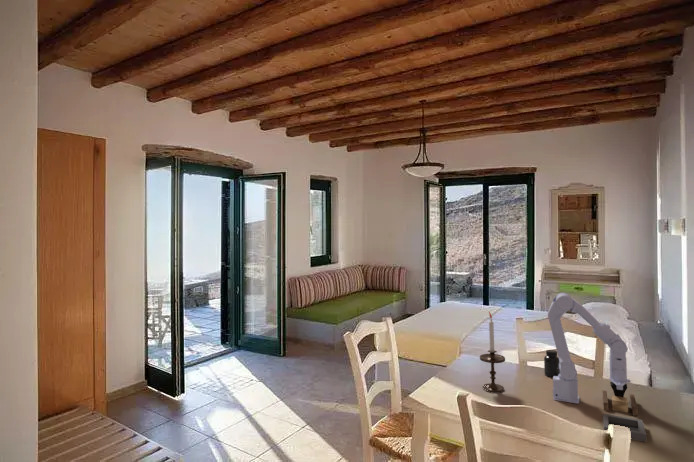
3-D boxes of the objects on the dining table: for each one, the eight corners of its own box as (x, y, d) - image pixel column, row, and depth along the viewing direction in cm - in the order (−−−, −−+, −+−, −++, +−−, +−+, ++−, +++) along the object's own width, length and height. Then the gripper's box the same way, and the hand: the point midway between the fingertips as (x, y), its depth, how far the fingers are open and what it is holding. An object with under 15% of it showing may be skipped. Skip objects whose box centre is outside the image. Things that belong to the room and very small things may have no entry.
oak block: (612, 410, 163) (612, 399, 163) (612, 405, 167) (612, 395, 168) (628, 412, 161) (627, 402, 161) (627, 407, 165) (626, 397, 165)
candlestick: (479, 392, 185) (477, 313, 185) (481, 383, 195) (479, 309, 195) (505, 394, 181) (503, 314, 181) (506, 386, 191) (504, 310, 191)
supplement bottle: (561, 378, 199) (561, 353, 199) (546, 377, 200) (545, 352, 200) (557, 373, 206) (557, 349, 206) (542, 372, 207) (542, 348, 207)
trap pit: (604, 434, 145) (604, 426, 145) (603, 420, 155) (602, 413, 155) (646, 442, 139) (646, 434, 139) (642, 426, 149) (642, 420, 149)
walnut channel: (603, 410, 163) (603, 402, 163) (602, 397, 175) (602, 390, 175) (637, 415, 158) (637, 407, 158) (634, 402, 170) (634, 394, 170)
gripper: (631, 375, 159) (632, 410, 159) (628, 364, 172) (629, 397, 172) (610, 372, 163) (611, 407, 163) (608, 361, 175) (609, 394, 175)
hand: (619, 401), depth 167 cm, fingers closed
